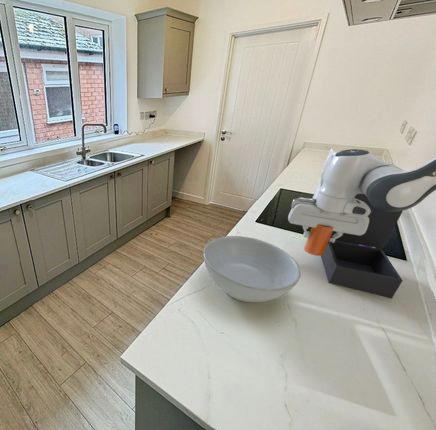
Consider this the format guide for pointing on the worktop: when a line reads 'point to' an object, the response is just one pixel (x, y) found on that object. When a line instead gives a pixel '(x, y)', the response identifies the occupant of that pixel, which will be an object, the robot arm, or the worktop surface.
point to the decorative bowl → (250, 268)
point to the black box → (360, 268)
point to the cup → (318, 240)
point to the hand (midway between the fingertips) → (318, 239)
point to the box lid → (373, 227)
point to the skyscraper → (324, 171)
